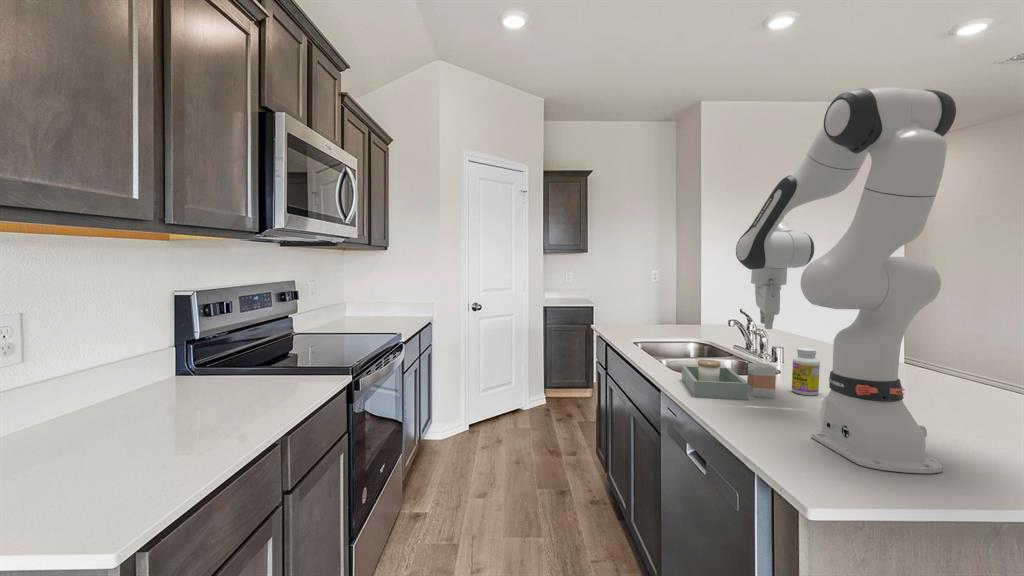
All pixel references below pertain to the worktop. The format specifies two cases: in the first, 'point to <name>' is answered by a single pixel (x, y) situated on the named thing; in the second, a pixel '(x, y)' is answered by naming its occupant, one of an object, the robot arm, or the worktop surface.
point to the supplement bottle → (805, 372)
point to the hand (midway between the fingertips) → (766, 326)
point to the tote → (715, 384)
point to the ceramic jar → (708, 370)
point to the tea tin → (761, 380)
